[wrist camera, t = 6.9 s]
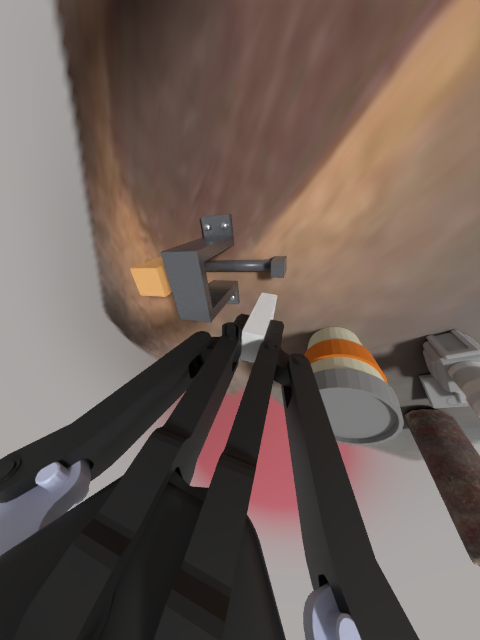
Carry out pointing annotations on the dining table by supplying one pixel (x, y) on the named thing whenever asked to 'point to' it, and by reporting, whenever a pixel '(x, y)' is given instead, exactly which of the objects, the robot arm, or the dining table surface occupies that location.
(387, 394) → the reusable coffee cup
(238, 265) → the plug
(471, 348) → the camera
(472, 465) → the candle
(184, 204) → the dining table surface
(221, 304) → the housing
